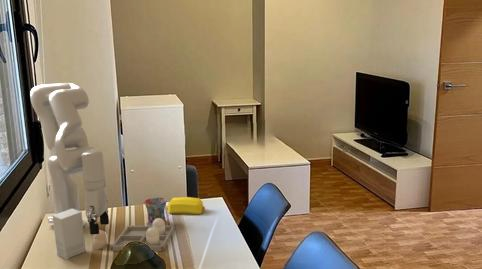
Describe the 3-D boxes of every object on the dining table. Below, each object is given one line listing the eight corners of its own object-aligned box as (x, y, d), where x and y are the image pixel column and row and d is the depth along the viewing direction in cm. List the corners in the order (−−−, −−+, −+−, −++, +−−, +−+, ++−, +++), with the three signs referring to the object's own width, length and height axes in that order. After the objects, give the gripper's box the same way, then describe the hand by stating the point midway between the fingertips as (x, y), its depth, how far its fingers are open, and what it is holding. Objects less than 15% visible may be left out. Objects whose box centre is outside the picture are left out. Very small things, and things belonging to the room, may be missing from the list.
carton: (111, 252, 168) (110, 246, 168) (127, 230, 187) (127, 225, 187) (163, 252, 167) (163, 246, 167) (174, 230, 186) (174, 225, 186)
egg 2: (151, 237, 179) (150, 220, 178) (154, 232, 184) (153, 216, 183) (163, 237, 179) (162, 220, 178) (166, 232, 184) (165, 216, 182)
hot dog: (203, 216, 202) (207, 209, 209) (202, 201, 201) (206, 195, 208) (163, 215, 205) (169, 209, 212) (163, 200, 203) (168, 195, 211)
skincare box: (77, 247, 174) (72, 207, 171) (86, 251, 169) (82, 211, 166) (56, 255, 167) (51, 214, 164) (65, 260, 163) (61, 218, 160)
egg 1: (92, 250, 170) (90, 233, 169) (96, 244, 175) (95, 228, 174) (104, 250, 170) (103, 233, 169) (109, 245, 175) (107, 228, 173)
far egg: (145, 247, 170) (143, 230, 169) (148, 242, 175) (147, 225, 173) (157, 247, 170) (156, 230, 168) (161, 242, 174) (159, 225, 173)
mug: (164, 230, 187) (162, 205, 185) (142, 229, 189) (140, 204, 187) (173, 219, 199) (171, 195, 197) (152, 218, 200) (150, 195, 198)
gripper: (94, 178, 176) (98, 221, 179) (74, 191, 159) (80, 238, 162) (113, 177, 176) (117, 220, 179) (96, 190, 159) (101, 237, 162)
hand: (100, 229), depth 170 cm, fingers open, 9 cm apart
